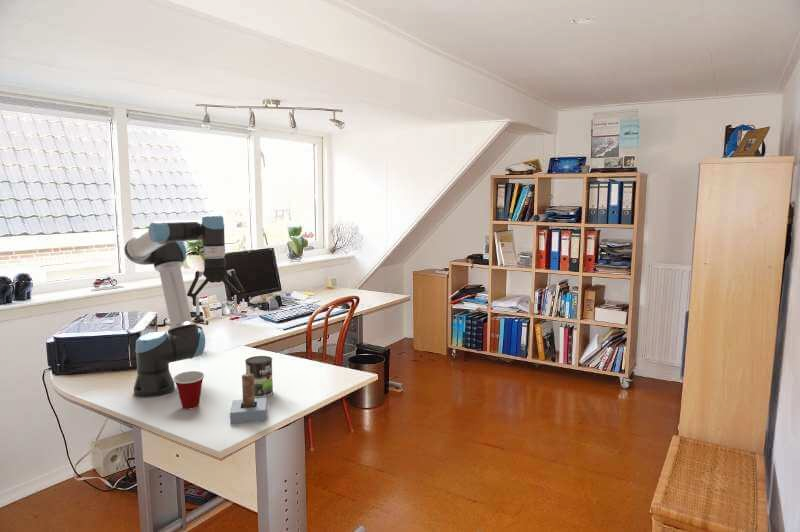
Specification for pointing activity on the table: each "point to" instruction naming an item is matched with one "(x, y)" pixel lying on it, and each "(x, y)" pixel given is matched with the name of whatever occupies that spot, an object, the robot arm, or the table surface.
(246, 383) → the peg
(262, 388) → the coffee can
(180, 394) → the plastic cup
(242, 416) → the socket block
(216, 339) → the table surface
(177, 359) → the robot arm
